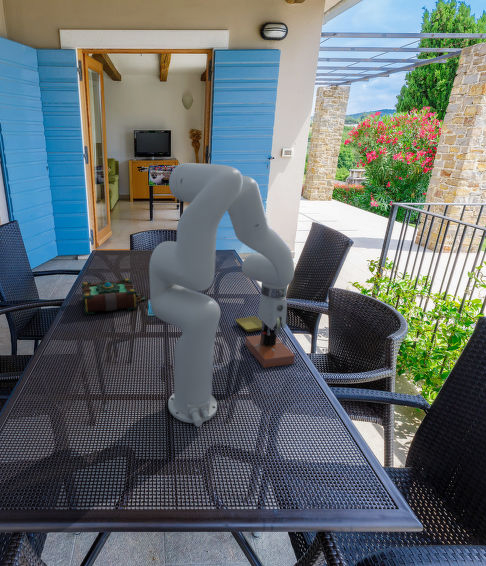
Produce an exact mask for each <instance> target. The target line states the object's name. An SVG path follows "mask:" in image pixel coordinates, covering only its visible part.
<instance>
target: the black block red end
mask: <svg viewBox="0 0 486 566" xmlns="http://www.w3.org/2000/svg"><path fill="white" fill-rule="evenodd" d="M266 334H267V332H262V331H261V332H260V335H261V340H260V344H261V345H262V346H265V338H266ZM276 337H278V334H277V335H276ZM275 344H276V338H275Z"/></svg>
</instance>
